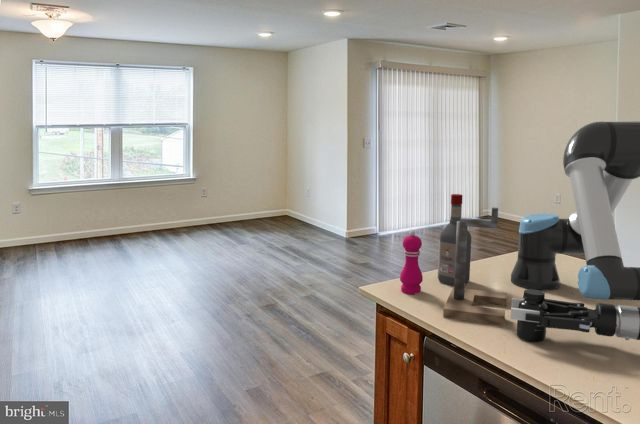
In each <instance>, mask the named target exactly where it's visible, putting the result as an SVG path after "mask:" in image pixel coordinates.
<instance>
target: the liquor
mask: <svg viewBox="0 0 640 424" xmlns="http://www.w3.org/2000/svg"><path fill="white" fill-rule="evenodd" d="M462 204H463V194H459V193H453V194H451V195H450V205H451V206H450V217H449V218H450V219H449V223H448V224H447V225H446V226H445V227H444V228H443V229H442V230H441V231H440V232H439V234H438V255H437V256H438V257H437V258H438V259H437V261H438V262H437V279H438V281H439V282H440V283H441V284H445V285H448V286H449V285H450V286H453V287H454V277H455V254H456V230H457V221H460V219H461V218H462ZM471 252H472V235H471V232H470V231H469V230H468V229H467V248H466V270H465V284H468V283H469V281H470V277H471V276H470V275H471V274H470V273H471Z"/></svg>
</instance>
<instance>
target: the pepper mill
mask: <svg viewBox="0 0 640 424" xmlns="http://www.w3.org/2000/svg"><path fill="white" fill-rule="evenodd" d="M422 244H423V243H422V239H421V238H420V237H419V236H417V235H416V232H415V230H410V231H409V235H407V236H405V237H404V238H403V240H402V248H403V249H404V250H403V252H404V253H403V255H404V256H405V259H404V260H405V262H404V266H403V268H402V269H401V272H400V275H399V280H400V282H401V283H402V284H401V286H400V287H401V288H400V291H401V292H402V293H404V294H407V295H417V294H420V293H421V291H422V286H421V284H422V282H423V280H424V279H423V277H424V276H423V273H422V270H421V268H420V265H419V257H420V255H421V251H420V249H421V248H422Z"/></svg>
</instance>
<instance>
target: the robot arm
mask: <svg viewBox="0 0 640 424" xmlns="http://www.w3.org/2000/svg"><path fill="white" fill-rule="evenodd" d="M563 152H564V153H563V158H562V160H563V161H562V163H563V170H564V174H565V175H566V176H567V177H568V178H570V185H571V189H572V194H573V199H574V200H573V201H574V204H575V205H574V206H575V210H574V211H573V212H572V213H571V214H570V216H569V218H560V217H559V215H558V214H555V213H545V212H544V213H534V214H529V215H526V216H523V217H522V218H521V220H520V221H519V222H520V223H519V229H518V246H517V260H516V262H515V264H514V267H513V269H512V272H511V274H510V282H511V283H512V284H514V285H515V286H517V287H518V286H519V287H520V288H526V289H535V290H540V291H542V290H544V291H545V290H546V291H547V290H548V291H549V290H556V289H558V288H559V286H560V276H559V272H558V268H557V265H556V258H557V257H556V256H557V255H558V254H559V255H561V254H563V255H582V256H583V255H584V258H585V262H586V265H584V266H581V268H580V269H579V270H578V273H577V280H578V281H577V286H578V290H579V291H580V294H581V295H582V296H583V297H585V298H587V299H595V300H602V301H607V300H609V301H610V300H615V301H616V300H619V301H620V300H621V301H622V300H623V301H640V267H637V266H635V267H633V266H625V265H624V262H623V259H622V253H621V248H620V244H619V239H618V234H617V230H616V225H615V220H614V217H613V214H614V212H615V210H616V209H617V207H618V205H619V203H620V201H621V199H622V198H623V196H624V195H625V193H626V192H627V190H628V188H629V186H630V185H631V183H632V181H633V180H637V179H638V178H640V121H593V122H590V123H588V124H585V125H584V126H582V127H581V128H579V129H577V131H575V133H574V134H573V135H571V137H570V139H569V140H568V143H566V146H565V148H564V151H563ZM522 300H524V298H514V297H511V308H510V320H515V321H517V320H522V321H529V322H537V323H539V322H540V324H543V327H545V328H546V329H547V328H548V329H557V330H565V331H566V330H568V331H576V332H577V331H578V332H583V333H590V331H591V329H590V328H594V333H596V335H598V336H605V337H614V336H615V337H617V338H621V339H624V340H626V341H629V340H637V341H640V307H638V306H631V305H624V304H623V305H621V304H618V305H616V306H615V305H614V304H611V303H603V302H602V303H601V302H598V303H597V304H596V305H595V308H594V309H593V308H592V309H591V308H589V307H586V306H585V303H582V302H570V301H563V300H556V299H550V298H549V299H548V298H545V300H544V301H543V302H544V303H545V304H546V305H547V307H548V313H544V311H543V310H541V311H535V310H527V309H519V308H518V306H519V303H520V301H522Z"/></svg>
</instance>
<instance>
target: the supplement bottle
mask: <svg viewBox="0 0 640 424" xmlns="http://www.w3.org/2000/svg"><path fill="white" fill-rule="evenodd" d="M545 294H546V293H545V292H544V291H542V290H539V289H530V288H526V289H525V290H523V296H522V299H524V300H522V301H520V303H519V306H518V308H519V309H527V310H535V311H541V310H543V311H544V313H548V307H547V305H546V304H545V303H544V302H543V301H544V300H545V299H546V298H545ZM546 335H547V328H545V327H543V324H540V322H539V323H537V322H529V321H522V320H516V336H517V338H519V339H521V340H523V341H525V342H530V343H541V342H544V341H545V340H546V337H547V336H546Z"/></svg>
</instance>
